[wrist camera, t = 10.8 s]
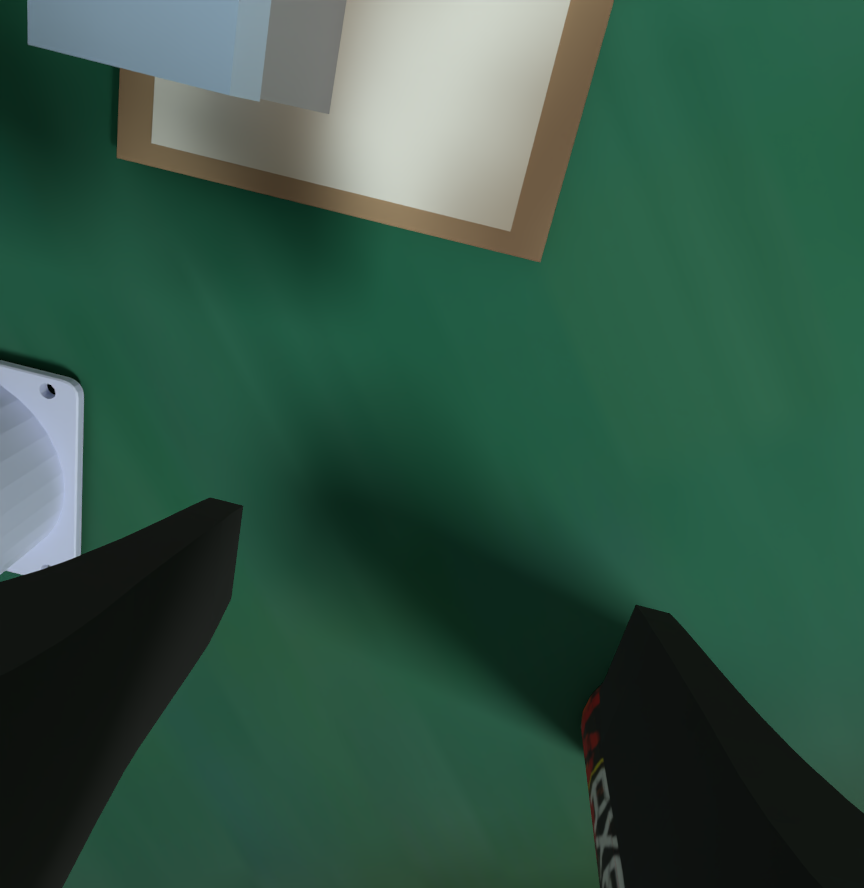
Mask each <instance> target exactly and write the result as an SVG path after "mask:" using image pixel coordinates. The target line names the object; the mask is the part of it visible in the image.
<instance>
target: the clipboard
mask: <svg viewBox="0 0 864 888" xmlns="http://www.w3.org/2000/svg"><path fill="white" fill-rule="evenodd" d="M613 2H614V0H347V1H346V8H345V14H344V21H343V27H342V34H341V40H340V47H339V53H338V60H337V66H336V73H335V79H334V86H333V92H332V99H331V105H330V112H329V114H326V113H321V112H317V111H312V110H308V109H303V108H299V107H294V106H290V105H285V104H281V103H276V102H272V101H267V100H263V99H260V102H258V101H253V100H249V99H244V98H239V97H234V96H230V95H226V94H222V93H218V92H214V91H210V90H206V89H202V88H198V87H194V86H190V85H186V84H182V83H178V82H174V81H170V80H166V79H162V78H158V77H154V76H151V75H147V74H143V73H139V72H135V71H131V70H127V69H123V68H120V79H119V107H118V135H117V158H120V159H124V160H128V161H132V162H136V163H140V164H144V165H148V166H152V167H156V168H160V169H164V170H168V171H172V172H176V173H180V174H184V175H188V176H193V177H197V178H201V179H205V180H209V181H213V182H217V183H221V184H225V185H229V186H233V187H237V188H241V189H245V190H249V191H253V192H257V193H261V194H266V195H270V196H274V197H278V198H282V199H286V200H290V201H294V202H298V203H302V204H306V205H310V206H314V207H318V208H322V209H326V210H330V211H334V212H339V213H343V214H347V215H351V216H355V217H359V218H363V219H367V220H371V221H375V222H379V223H383V224H387V225H391V226H395V227H399V228H403V229H407V230H411V231H416V232H420V233H424V234H428V235H432V236H436V237H440V238H444V239H448V240H452V241H456V242H460V243H464V244H468V245H472V246H476V247H480V248H484V249H489V250H493V251H497V252H501V253H505V254H509V255H513V256H517V257H521V258H525V259H529V260H533V261H537V262H540V261H541V258H542V254H543V250H544V247H545V243H546V240H547V236H548V233H549V229H550V226H551V222H552V218H553V215H554V211H555V208H556V204H557V201H558V197H559V194H560V190H561V187H562V183H563V179H564V176H565V172H566V169H567V165H568V162H569V158H570V155H571V151H572V147H573V144H574V140H575V137H576V133H577V130H578V126H579V123H580V119H581V116H582V112H583V108H584V105H585V101H586V98H587V94H588V91H589V87H590V84H591V80H592V76H593V73H594V69H595V66H596V62H597V59H598V55H599V52H600V48H601V44H602V41H603V37H604V34H605V30H606V27H607V23H608V20H609V16H610V13H611V9H612V5H613Z"/></svg>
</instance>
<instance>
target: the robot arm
mask: <svg viewBox="0 0 864 888" xmlns="http://www.w3.org/2000/svg"><path fill="white" fill-rule="evenodd" d="M47 384H50V385H52V387H53V388H54V389H55V393H56V394H55V395H54V394H52V393H51V392H50V391H49V390H48V387H47ZM83 417H84V393H83V389H82V387H81V385H80V384H79V383H78V382H77V381H76V380H74V379H72V378H70V377H66V376H62V375H58V374H54V373H50V372H46V371H42V370H38V369H34V368H30V367H27V366H23V365H19V364H15V363H11V362H7V361H3V360H0V575H1V574H2V573H3V572H4V571H5V570H6V571H10V572H14V573H18V574H22V576H19V577H16V578H13V579H9V580H6V581H3V582H0V888H62V887H63V885H64V883H65V881H66V879H67V877H68V876H69V874H70V872H71V870H72V868H73V866H74V864H75V862H76V860H77V858H78V856H79V854H80V852H81V851H82V849H83V847H84V845H85V843H86V841H87V839H88V837H89V835H90V833H91V831H92V829H93V827H94V826H95V824H96V822H97V820H98V818H99V816H100V815H101V813H102V811H103V809H104V807H105V805H106V804H107V802H108V800H109V798H110V796H111V794H112V792H113V791H114V789H115V787H116V785H117V783H118V781H119V780H120V778H121V776H122V774H123V772H124V771H125V769H126V767H127V766H128V764H129V763H130V761H131V759H132V758H133V756H134V754H135V753H136V751H137V750H138V748H139V746H140V745H141V743H142V742H143V741H144V739H145V738H146V736H147V735H148V733H149V732H150V730H151V729H152V727H153V726H154V724H155V723H156V721H157V720H158V718H159V717H160V716H161V714H162V713H163V711H164V710H165V708H166V707H167V705H168V704H169V702H170V701H171V699H172V698H173V696H174V695H175V694H176V692H177V691H178V689H179V688H180V686H181V685H182V683H183V682H184V680H185V679H186V677H187V676H188V674H189V673H190V671H191V670H192V668H193V667H194V665H195V664H196V662H197V661H198V659H199V658H200V656H201V655H202V653H203V652H204V650H205V649H206V647H207V646H208V644H209V642H210V640H211V638H212V636H213V634H214V632H215V630H216V628H217V626H218V624H219V622H220V620H221V618H222V616H223V614H224V612H225V610H226V608H227V606H228V604H229V602H230V600H231V596H232V588H233V580H234V573H235V565H236V557H237V549H238V541H239V534H240V526H241V518H242V510H243V506H242V505H238V504H234V503H230V502H226V501H222V500H218V499H214V498H208V499H206V500H203V501H201V502H199V503H196V504H194V505H192V506H190V507H188V508H186V509H184V510H182V511H180V512H177V513H175V514H173V515H171V516H169V517H167V518H165V519H163V520H161V521H159V522H156V523H154V524H152V525H150V526H148V527H146V528H144V529H141V530H139V531H137V532H135V533H133V534H131V535H128V536H126V537H124V538H122V539H119V540H117V541H114V542H112V543H109V544H107V545H105V546H102V547H100V548H97V549H95V550H92V551H90V552H87V553H85V554H82V555H81V518H82V468H83ZM48 565H50V567H49V566H48ZM599 699H600V733H601V748H602V754H603V761H604V767H605V773H606V779H607V785H608V791H609V796H610V802H611V808H612V814H613V819H614V825H615V831H616V836H617V842H618V848H619V854H620V859H621V865H622V871H623V878H624V886H625V888H864V813H862V812H861V811H860V810H859V809H858V808H857V807H855V806H854V805H853V804H852V803H851V802H849V801H848V800H847V799H846V798H845V797H844V796H843V795H841V794H840V793H839V792H838V791H837V790H836V789H835V788H834V787H833V786H832V785H830V784H829V783H828V782H827V781H826V780H825V779H824V778H823V777H822V776H821V775H819V774H818V773H817V772H816V771H815V770H814V769H813V768H812V767H811V766H809V765H808V764H807V763H806V762H805V761H804V760H803V759H802V758H801V757H800V756H799V755H798V754H797V753H796V752H795V751H794V750H793V749H792V748H791V747H790V746H789V745H788V744H787V743H786V742H785V741H784V740H783V739H782V738H781V737H780V736H779V735H778V734H777V733H776V732H775V731H774V730H773V729H772V727H771V726H770V725H769V724H768V723H767V722H766V721H765V720H764V719H763V718H762V717H761V716H760V715H759V714H758V713H757V712H756V711H755V709H754V708H753V707H752V706H751V705H750V704H749V703H748V702H747V701H746V700H745V699H744V697H743V696H742V695H741V694H740V693H739V692H738V691H737V690H736V688H735V687H734V686H733V685H732V684H731V683H730V682H729V680H728V679H727V678H726V677H725V676H724V675H723V673H722V672H721V671H720V670H719V669H718V668H717V667H716V665H715V664H714V663H713V662H712V661H711V659H710V658H709V657H708V656H707V655H706V654H705V652H704V651H703V650H702V649H701V648H700V647H699V645H698V644H697V643H696V642H695V641H694V640H693V638H692V637H691V636H690V635H689V634H688V633H687V631H686V630H685V629H684V628H683V627H682V626H681V625H680V624H679V623H678V622H677V620H676V619H675V618H674V617H673V616H672V615H671V614H670V613H666V612H662V611H658V610H654V609H650V608H646V607H642V606H638V605H636V606H635V608H634V611H633V613H632V615H631V618H630V620H629V622H628V625H627V627H626V630H625V632H624V634H623V637H622V639H621V641H620V644H619V646H618V649H617V651H616V653H615V656H614V658H613V661H612V663H611V665H610V668H609V670H608V672H607V675H606V677H605V680H604V682H603V684H602V687H601V689H600V692H599Z"/></svg>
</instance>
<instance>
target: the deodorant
mask: <svg viewBox="0 0 864 888" xmlns="http://www.w3.org/2000/svg"><path fill="white" fill-rule="evenodd" d="M602 684H603V683H602ZM602 684H601V685H600V686H599V687H598V688H597V689H596V691H595V692H594V693H593V694H592V695H591V696H590V698H589V700H588V702H587V704H586V706H585V708H584V710H583V715H582V722H581V732H582V740H583V748H584V757H585V765H586V774H587V782H588V790H589V799H590V807H591V815H592V824H593V832H594V840H595V849H596V857H597V866H598V874H599V882H600V888H625V886H624V878H623V871H622V865H621V859H620V854H619V848H618V842H617V836H616V831H615V825H614V819H613V814H612V808H611V802H610V796H609V791H608V785H607V779H606V773H605V767H604V761H603V754H602V748H601V733H600V699H599V692H600V689H601V687H602Z"/></svg>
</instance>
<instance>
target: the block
mask: <svg viewBox="0 0 864 888" xmlns="http://www.w3.org/2000/svg"><path fill="white" fill-rule="evenodd" d="M346 1H347V0H27V11H28V45H32V46H36V47H40V48H44V49H48V50H52V51H56V52H59V53H63V54H67V55H71V56H75V57H79V58H83V59H87V60H91V61H95V62H99V63H103V64H107V65H111V66H115V67H119V68H123V69H127V70H131V71H135V72H139V73H143V74H147V75H151V76H154V77H158V78H162V79H166V80H170V81H174V82H178V83H182V84H186V85H190V86H194V87H198V88H202V89H206V90H210V91H214V92H218V93H222V94H226V95H230V96H234V97H239V98H244V99H249V100H253V101H258V102H260V99H263V100H267V101H272V102H276V103H281V104H285V105H290V106H294V107H299V108H303V109H308V110H312V111H317V112H321V113H326V114H329V112H330V105H331V99H332V92H333V86H334V79H335V73H336V66H337V60H338V53H339V47H340V40H341V34H342V27H343V21H344V14H345V8H346Z"/></svg>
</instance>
